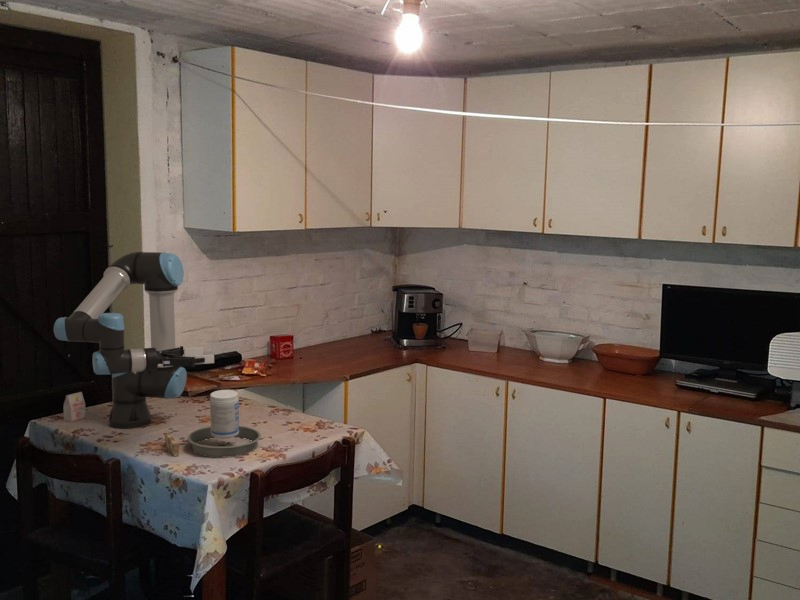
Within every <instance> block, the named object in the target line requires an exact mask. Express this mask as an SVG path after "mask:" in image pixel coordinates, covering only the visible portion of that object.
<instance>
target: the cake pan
mask: <svg viewBox="0 0 800 600" xmlns="http://www.w3.org/2000/svg"><path fill="white" fill-rule="evenodd" d="M236 437H240V438H239V439H243V438H246V439H245V440H247V439H249V440H248V441H250V440H252V441H250V442H246V443H242V444H239V445H237V444H236V445H230V446H229V445H228V446H212V445H204V444H200V442H199V441H201V442H203V441H202V440H204V441H206V440H205V439H208V440H211V439H210V438H213V439H215V438H214V437H213V436H212V435H211V426H206V427H202V428H199V429H196V430H194V431H191V433H189V434H188V435H187V441H188V442H189V443H190V444H191V448H192V451H193V450H194V451H195V452H196V453H195V452H194V451H193V452H194V453H195V454H197V453H199V454H198V455H200V454H201V455H200V456H203V455H206V456H205V457H209V456H213V457H212V458H223V457H222V456H231V457H236V455H238V456H242V455H245V453H246V454H249V453H250V451H251V452H252V451H254V450H255V449H256V446H257V443H258V441H260V439H261V438H262V433H261V432H260V431H258V430H257V429H255V428H252V427H249V426H245V425H244V426H243V425H239V434H238V435H237V436H235V437H234V438H236ZM197 442H199V443H197ZM253 449H254V450H253ZM220 456H221V457H220Z"/></svg>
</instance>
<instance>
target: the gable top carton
mask: <svg viewBox="0 0 800 600" xmlns="http://www.w3.org/2000/svg"><path fill="white" fill-rule="evenodd" d="M62 407H63V421H64V422H68V423H73V422H77V421H81V420H83V419H87V418H86V402H85V399H84V395H83V392H82V391H79V392H75V393H71V394H66V395H65V399H64V402H63V406H62Z"/></svg>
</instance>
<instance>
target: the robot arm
mask: <svg viewBox="0 0 800 600" xmlns="http://www.w3.org/2000/svg"><path fill="white" fill-rule="evenodd" d="M184 274H185V273H184V266H183V263H182V260H181V259H180V257H179V256H178V255H177V254H175V253H171V252H159V251H158V252H154V251H153V252H152V251H151V252H149V251H145V252H144V251H134V252H130V253H129V252H128V253H127V254H125V255H122V256H120V257H119V258H117V259H116V260H114V261H113V262H112V263H111V264H110V265H109V266H108V267H107V268H106V269H105V271H103V276H102V278H101V280H100V281H98V283H97V284H96V285H95V286H94V288H93V289H92V290H91V291H90V292H89V294H87V296H86V297H85V298H84V299H83V301H81V303H80V304H79V305H78V307H76V308H75V310H73V312H72V313H71V314H70V316H68V317H67V316H64V317H59V318H57V319H56V320H55V322H54V324H53V333H54V337H55V338H56V339H57V340H58V341H65V342H77V343H96V344H98V345H99V350H98V351H94V352H93V353H92V368H93V373H94V374H96V375H98V376H99V375H112V399H113V400H112V402H113V403H112V407H111V410H110V413H109V417H108V425H109V427H111V428H116V429H135V428H141V427H145V426H148V425H149V424H151V423H152V414H151V411H150V409H149V405H148V403H147V398H154V399H155V398H157V399H165V400H167V399H176V398H179V397H180V396H181V395H182V394H183V392H184V390H185V387H186V384H187V377H188V374H187V370H186V368H185V367H192V368H195V367H196V365H203V364H204V365H205V364H206V365H207V364H215V355H214V354H205V355H204V347H203V346H201V347H200V346H199V347H198V346H197V347H186V348H185V347H184V346H183V345H182V346H181V345H180V346H179V347H176V327H175V326H176V323H175V296H174V295H175V293H176V292H177V291H178V290H179V288H178V287H179V286H181V284H182V283H183V281H184V277H185V275H184ZM131 285H143V286H144V291H145V292H146V293H147V294H148V299H149V301H148V302H149V305H148V306H149V326H150V347H144V348H139V347H138V348H131V349H129V348H128V349H125V321H124V316H123V314H121V313H119V312H118V313H117V312H105V311H106V310H107V309H108V308H109V307H110V305H112V303H113V302H114V301H115V299H116V298H117V297H118V296H119V294H121V292H122V291H124V290H127V289H128V288H129V287H130V286H131Z"/></svg>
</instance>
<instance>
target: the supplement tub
mask: <svg viewBox="0 0 800 600" xmlns="http://www.w3.org/2000/svg"><path fill="white" fill-rule="evenodd" d="M209 396H210V397H209V409H210V411H209V412H210V413H209V414H210V427H211V435H212V436H213V437H215V438H214V439H219V440H221V439H222V440H223V439H225V440H226V439H231V438H236V437H235V436H237V435H238V434H239V426H240V412H239V411H240V408H239V407H240V405H239V402H240V400H239V393H238V392H237V391H236V390H233V389H220V390H216V391H213V392H211V393H210V395H209Z"/></svg>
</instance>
